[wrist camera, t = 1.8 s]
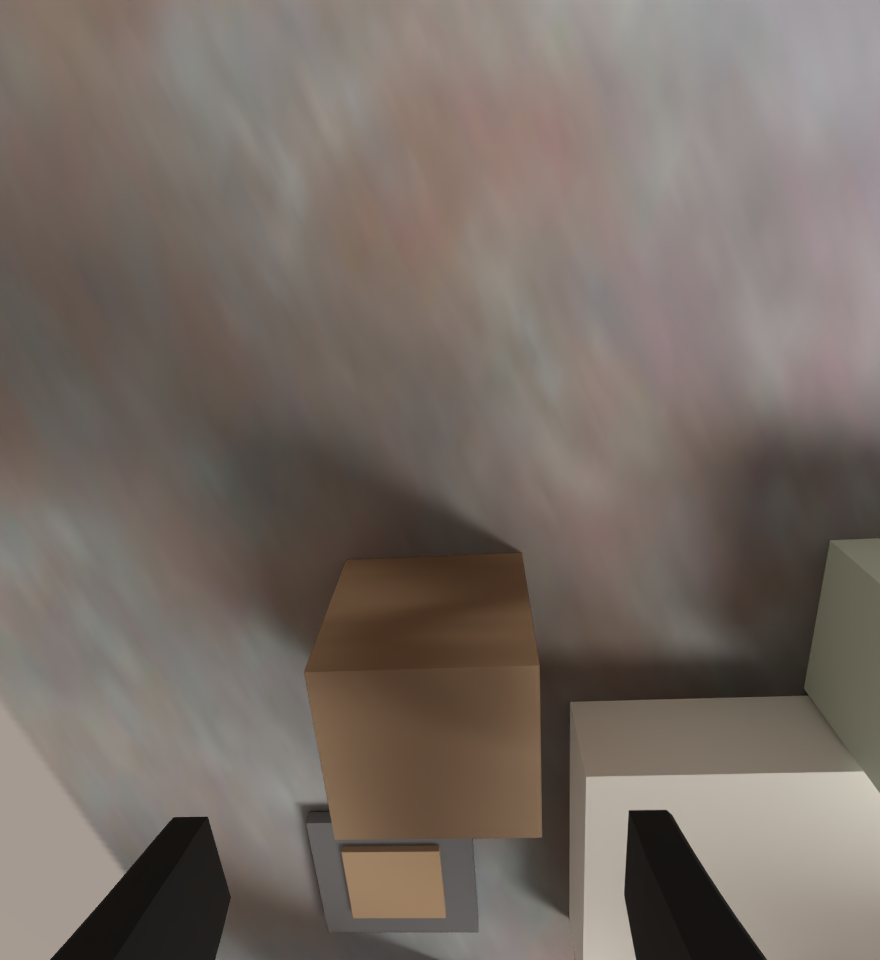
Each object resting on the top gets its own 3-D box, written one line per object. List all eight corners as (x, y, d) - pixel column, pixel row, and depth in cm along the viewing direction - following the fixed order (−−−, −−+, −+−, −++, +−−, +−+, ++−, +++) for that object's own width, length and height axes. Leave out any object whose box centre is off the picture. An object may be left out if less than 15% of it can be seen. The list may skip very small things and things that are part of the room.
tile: (470, 809, 19) (470, 827, 19) (478, 919, 21) (478, 938, 21) (309, 812, 20) (304, 829, 19) (330, 920, 21) (327, 938, 21)
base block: (898, 682, 17) (979, 769, 15) (844, 904, 21) (903, 1009, 18) (568, 692, 18) (586, 776, 15) (567, 906, 21) (582, 1008, 19)
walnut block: (521, 550, 16) (539, 666, 12) (525, 693, 18) (541, 837, 14) (346, 558, 16) (304, 672, 12) (366, 697, 18) (334, 840, 14)
